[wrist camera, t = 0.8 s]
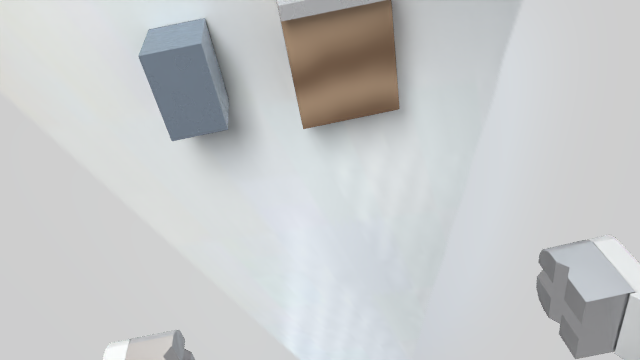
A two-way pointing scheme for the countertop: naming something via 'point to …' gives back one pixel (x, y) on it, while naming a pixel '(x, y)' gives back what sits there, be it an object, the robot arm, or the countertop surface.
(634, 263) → the robot arm
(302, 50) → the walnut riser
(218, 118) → the block
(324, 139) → the countertop surface
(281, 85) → the countertop surface
